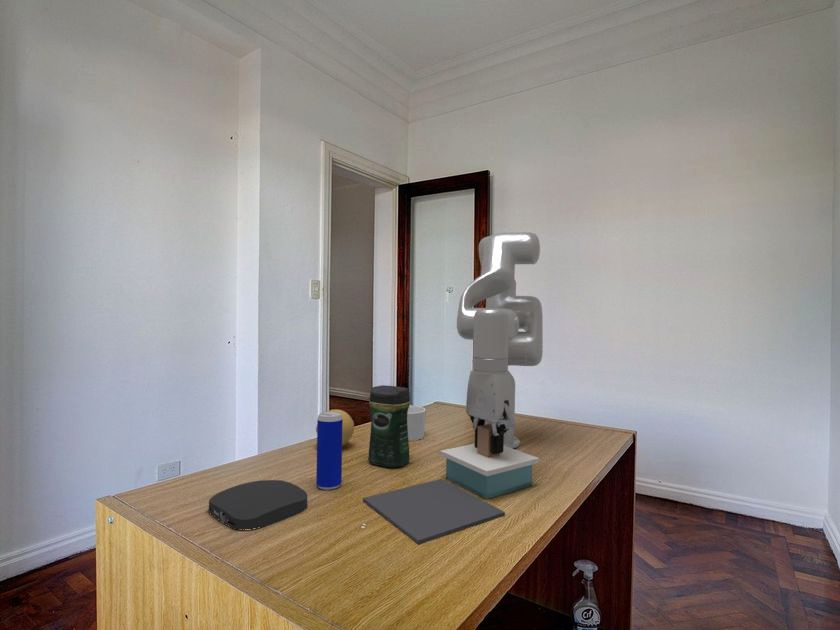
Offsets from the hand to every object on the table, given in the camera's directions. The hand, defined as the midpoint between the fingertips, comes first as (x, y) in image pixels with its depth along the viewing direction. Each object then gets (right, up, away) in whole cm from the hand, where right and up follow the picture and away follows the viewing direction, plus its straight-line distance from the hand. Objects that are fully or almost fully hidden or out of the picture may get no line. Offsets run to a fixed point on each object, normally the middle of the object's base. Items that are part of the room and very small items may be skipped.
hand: (488, 449), depth 98 cm
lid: (0, -2, 0) cm, 2 cm away
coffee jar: (-22, -7, +11) cm, 26 cm away
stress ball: (-38, -7, +23) cm, 44 cm away
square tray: (0, -7, 0) cm, 7 cm away
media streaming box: (-45, -7, -15) cm, 47 cm away
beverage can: (-34, -7, -4) cm, 35 cm away
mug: (-19, -7, +36) cm, 41 cm away
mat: (-13, -7, -13) cm, 20 cm away
